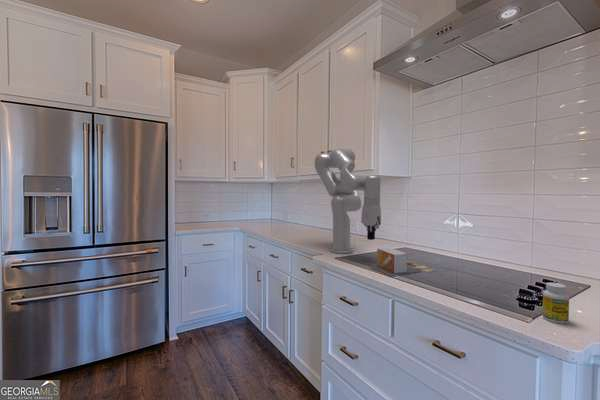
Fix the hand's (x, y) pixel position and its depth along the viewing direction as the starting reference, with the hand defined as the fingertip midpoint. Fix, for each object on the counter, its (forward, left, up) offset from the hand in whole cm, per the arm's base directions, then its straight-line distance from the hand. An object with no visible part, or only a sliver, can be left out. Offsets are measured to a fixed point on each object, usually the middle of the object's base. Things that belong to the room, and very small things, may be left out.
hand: (371, 239), depth 142 cm
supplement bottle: (+72, +7, -11) cm, 73 cm away
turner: (+18, +12, -11) cm, 24 cm away
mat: (+17, 0, -11) cm, 20 cm away
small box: (+9, 0, -6) cm, 11 cm away
